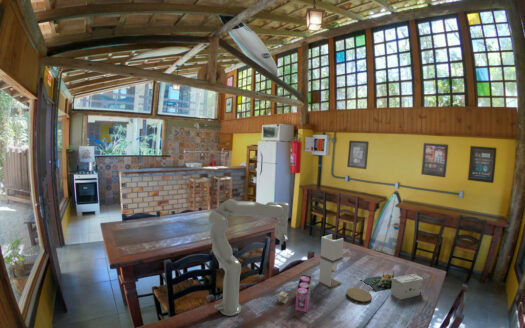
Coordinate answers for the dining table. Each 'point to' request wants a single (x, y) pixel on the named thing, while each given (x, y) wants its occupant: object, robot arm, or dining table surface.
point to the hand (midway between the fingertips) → (280, 247)
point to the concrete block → (406, 286)
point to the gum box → (303, 293)
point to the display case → (330, 260)
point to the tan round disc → (359, 295)
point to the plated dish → (380, 282)
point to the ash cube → (283, 297)
